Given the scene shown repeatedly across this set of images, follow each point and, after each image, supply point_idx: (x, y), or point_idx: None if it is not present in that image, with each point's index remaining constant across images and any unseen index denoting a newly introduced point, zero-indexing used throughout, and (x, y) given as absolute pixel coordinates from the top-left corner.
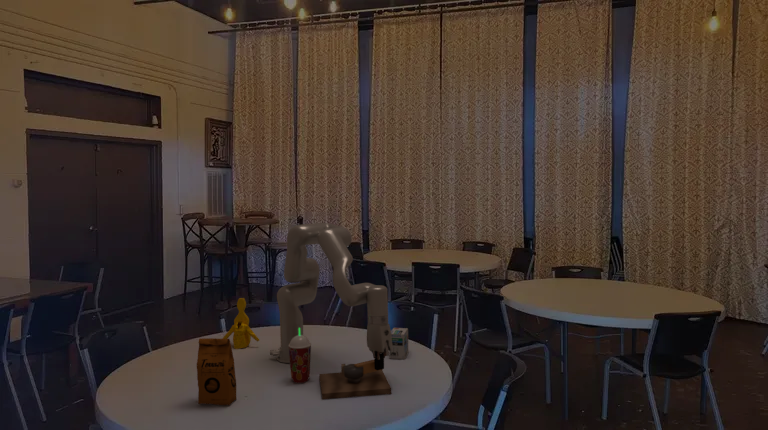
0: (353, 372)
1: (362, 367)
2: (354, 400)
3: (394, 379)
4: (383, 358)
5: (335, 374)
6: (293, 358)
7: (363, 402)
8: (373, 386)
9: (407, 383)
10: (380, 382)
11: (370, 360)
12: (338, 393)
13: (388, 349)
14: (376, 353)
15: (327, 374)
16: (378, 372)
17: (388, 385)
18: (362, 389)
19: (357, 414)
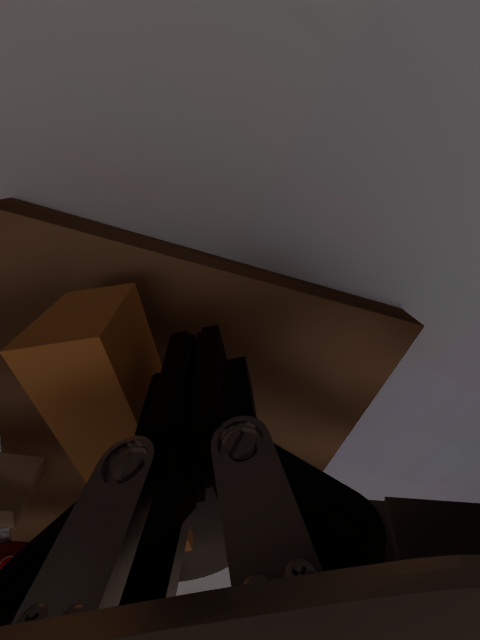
0: None
1: (213, 514)
2: (341, 459)
3: (171, 151)
4: (257, 433)
5: (37, 495)
6: None
7: (383, 440)
8: (322, 398)
9: (320, 86)
10: (290, 343)
11: (75, 457)
12: None
13: (397, 594)
14: (136, 555)
15: (28, 519)
16: (64, 272)
17: (372, 321)
18: (323, 449)
19: (451, 477)
